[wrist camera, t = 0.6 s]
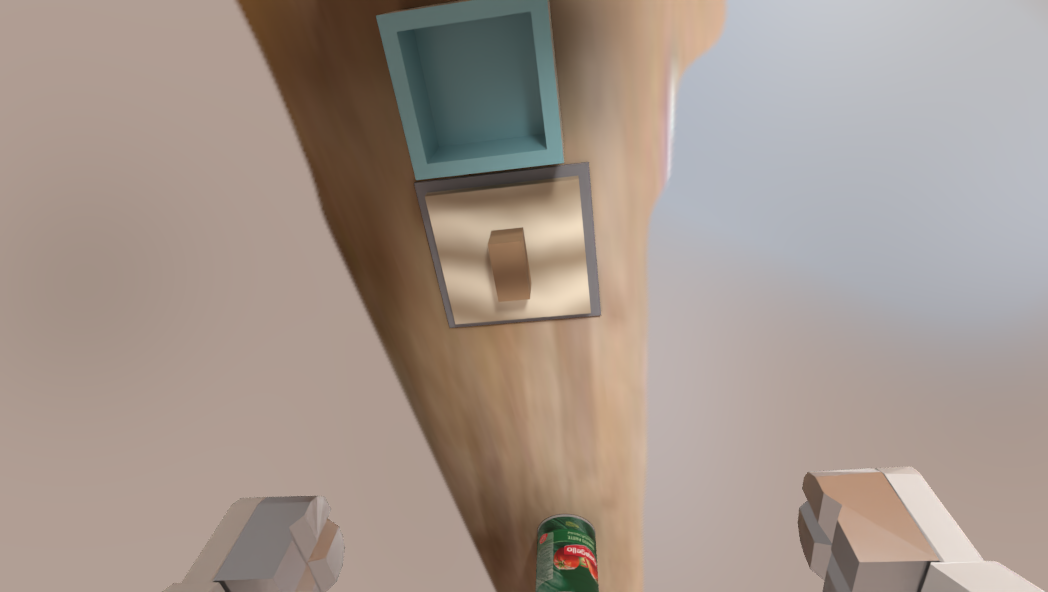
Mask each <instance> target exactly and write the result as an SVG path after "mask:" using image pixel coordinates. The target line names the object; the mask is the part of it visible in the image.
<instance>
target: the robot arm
mask: <svg viewBox="0 0 1048 592" xmlns="http://www.w3.org/2000/svg"><path fill="white" fill-rule="evenodd" d="M802 489H803V491H804V493H805V496H806V498H807V500H808V501H807V502H805V503H804V504H803V505H802V506H801V507H800V508H799V517H798V528H799V536H800V541H801V545H802V548H803V552H804V555H805V557H806V560H807V562H808V564H809V567H810V569H811V570H812V571H814V572H815V573H816V574H817V575H818V576H820V577H821V578H822V579H823V580H824V581H825V582H824V587H823V592H1045V591H1043V590H1042V589H1040V588H1038V587H1037V586H1035V585H1034V584H1032V583H1031V582H1029V581H1027V580H1026V579H1024V578H1023V577H1021V576H1019V575H1018V574H1016V573H1015V572H1013V571H1011V570H1010V569H1008V568H1007V567H1005V566H1003V565H1002V564H1000V563H999V562H997V561H984V559H983V558H982V557H981V555H980V554H979V553H978V551H977V550H976V549H975V547H974V546H973V545H972V543H971V542H970V541H969V539H968V538H967V537H966V535H965V534H964V533H963V531H962V530H961V528H960V527H959V526H958V524H957V523H956V522H955V520H954V519H953V518H952V516H951V515H950V514H949V512H948V511H947V509H946V508H945V507H944V505H943V504H942V503H941V501H940V500H939V499H938V497H937V496H936V495H935V493H934V492H933V491H932V489H931V488H930V486H929V485H928V484H927V483H926V481H925V480H924V478H923V477H922V476H921V474H920V473H919V472H918V471H917V470H915V469H914V468H912V467H892V468H876V469H872V468H866V469H848V470H831V471H814V472H808V473H807V474H806V475H805V477H804V482H803V487H802ZM330 511H331V508H330V506H329V504H328V502H327V500H326V498H325V497H322V496H293V497H292V496H291V497H257V498H240V499H239V500H238V501H236V502H235V503H233V504H232V505H231V507H230V508H229V510H228V511H227V513H226V515H225V516H224V518H223V519H222V521H221V522H220V524H219V525H218V527H217V528H216V530H215V531H214V533H213V535H212V536H211V538H210V539H209V541H208V542H207V544H206V545H205V547H204V549H203V550H202V552H201V553H200V555H199V556H198V558H197V559H196V561H195V563H194V564H193V566H192V567H191V569H190V570H189V572H188V573H187V575H186V576H185V578H184V580H183V581H182V583H173V584H172V585H171V586H169V587H168V588H166V589H165V590H164V591H162V592H326V591H327V590H329V589H330V588H331V586H333V585H334V584H335V583H336V582H337V579H338V577H339V574H340V571H341V568H342V565H343V558H344V549H345V547H344V540H343V535H342V533H341V530H340V528H339V526H338V525H336V524H335V523H334V522H332V521H331V520H329V519H328V515H329V513H330Z"/></svg>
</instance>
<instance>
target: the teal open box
mask: <svg viewBox="0 0 1048 592" xmlns="http://www.w3.org/2000/svg"><path fill="white" fill-rule="evenodd" d="M376 19H377V23H378V27H379V31H380V35H381V39H382V43H383V47H384V51H385V56H386V60H387V64H388V68H389V72H390V76H391V80H392V84H393V88H394V92H395V96H396V101H397V105H398V109H399V113H400V117H401V121H402V125H403V129H404V133H405V137H406V142H407V146H408V150H409V154H410V158H411V162H412V166H413V170H414V174H415V178H416V180H423V179H431V178H440V177H448V176H457V175H465V174H474V173H482V172H491V171H499V170H508V169H517V168H525V167H534V166H542V165H551V164H559V163H564V138H563V129H562V119H561V109H560V99H559V89H558V79H557V69H556V60H555V50H554V40H553V30H552V20H551V10H550V0H459V1H453V2H447V3H440V4H434V5H427V6H421V7H415V8H408V9H402V10H396V11H392V12H388V13H384V14H380V15H376Z"/></svg>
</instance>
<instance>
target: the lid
mask: <svg viewBox="0 0 1048 592" xmlns="http://www.w3.org/2000/svg"><path fill="white" fill-rule="evenodd" d="M425 200H426V204H427V208H428V212H429V217H430V221H431V225H432V229H433V233H434V237H435V242H436V246H437V250H438V254H439V258H440V262H441V267H442V271H443V275H444V279H445V283H446V287H447V292H448V296H449V300H450V304H451V308H452V313H453V317H454V321H455V324H467V323H479V322H491V321H503V320H515V319H527V318H539V317H551V316H563V315H575V314H587V313H591V308H590V297H589V286H588V275H587V264H586V253H585V242H584V231H583V220H582V209H581V198H580V187H579V176H570V177H561V178H552V179H544V180H535V181H526V182H517V183H509V184H500V185H491V186H482V187H474V188H465V189H456V190H447V191H438V192H430V193H427V194H426V195H425Z"/></svg>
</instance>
